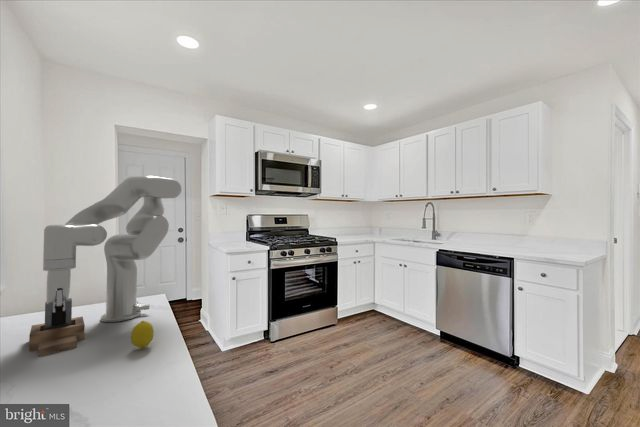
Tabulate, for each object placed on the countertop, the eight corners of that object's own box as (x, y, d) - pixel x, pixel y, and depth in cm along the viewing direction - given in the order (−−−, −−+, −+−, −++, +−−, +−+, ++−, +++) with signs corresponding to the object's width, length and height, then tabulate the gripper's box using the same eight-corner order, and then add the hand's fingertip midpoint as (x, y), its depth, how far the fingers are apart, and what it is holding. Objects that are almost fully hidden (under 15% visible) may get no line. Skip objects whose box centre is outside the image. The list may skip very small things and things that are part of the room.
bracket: (70, 329, 91) (71, 298, 91) (71, 332, 88) (71, 300, 88) (44, 334, 86) (45, 301, 87) (44, 337, 84) (45, 304, 84)
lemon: (142, 354, 78) (143, 325, 78) (125, 352, 79) (126, 323, 79) (157, 345, 83) (158, 318, 84) (142, 343, 84) (142, 317, 85)
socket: (81, 325, 99) (81, 312, 99) (85, 345, 83) (86, 330, 83) (32, 334, 91) (33, 320, 91) (27, 358, 75) (27, 342, 75)
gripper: (44, 262, 91) (42, 319, 91) (42, 269, 79) (40, 334, 79) (74, 260, 96) (73, 314, 96) (77, 266, 84) (75, 327, 84)
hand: (58, 322), depth 87 cm, fingers closed on bracket, 3 cm apart
